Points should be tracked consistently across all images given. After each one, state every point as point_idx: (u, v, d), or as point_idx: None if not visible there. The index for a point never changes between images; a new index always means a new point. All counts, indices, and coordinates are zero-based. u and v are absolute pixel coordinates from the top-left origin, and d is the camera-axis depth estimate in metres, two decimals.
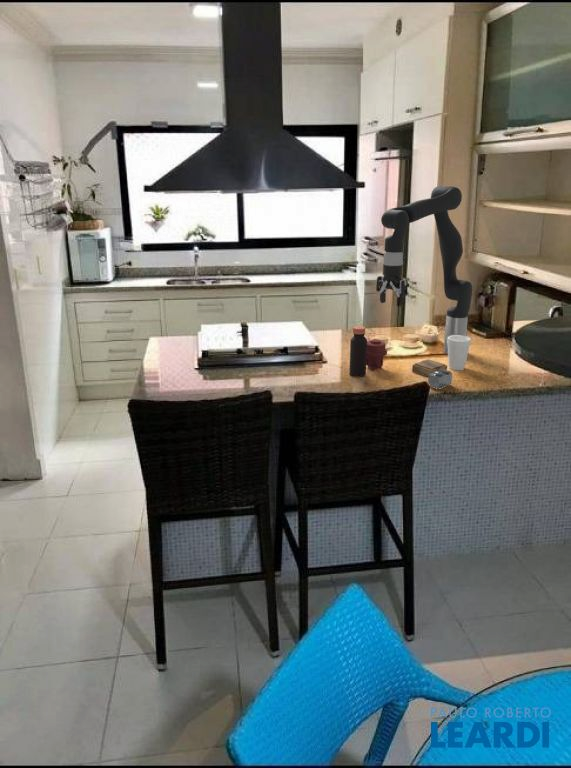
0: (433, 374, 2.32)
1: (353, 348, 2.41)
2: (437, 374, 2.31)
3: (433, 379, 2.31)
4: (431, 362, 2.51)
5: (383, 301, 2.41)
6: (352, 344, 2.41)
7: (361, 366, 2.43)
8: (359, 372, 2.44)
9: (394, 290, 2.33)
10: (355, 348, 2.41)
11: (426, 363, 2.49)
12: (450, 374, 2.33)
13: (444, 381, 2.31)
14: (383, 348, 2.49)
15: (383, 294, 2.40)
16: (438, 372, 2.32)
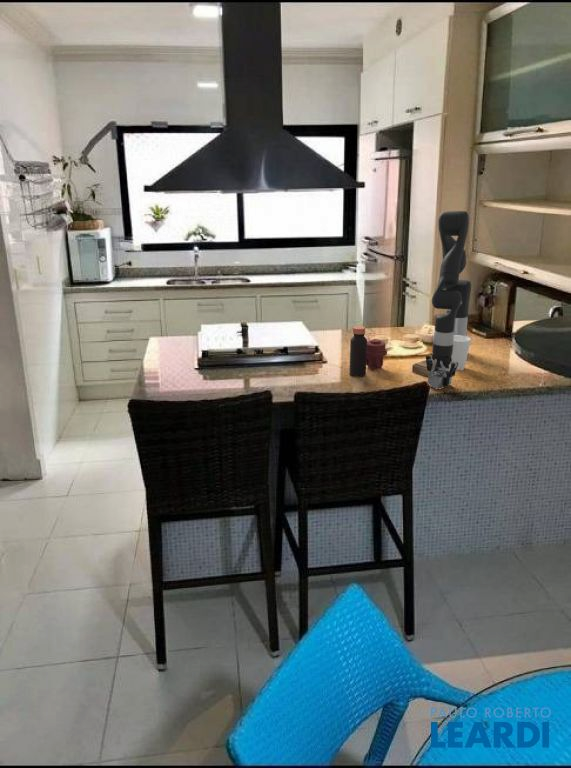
0: (433, 374, 2.32)
1: (353, 348, 2.41)
2: (437, 374, 2.31)
3: (433, 379, 2.31)
4: None
5: None
6: (352, 344, 2.41)
7: (361, 366, 2.43)
8: (359, 372, 2.44)
9: (442, 370, 2.29)
10: (355, 348, 2.41)
11: None
12: None
13: None
14: (383, 348, 2.49)
15: None
16: (438, 372, 2.31)
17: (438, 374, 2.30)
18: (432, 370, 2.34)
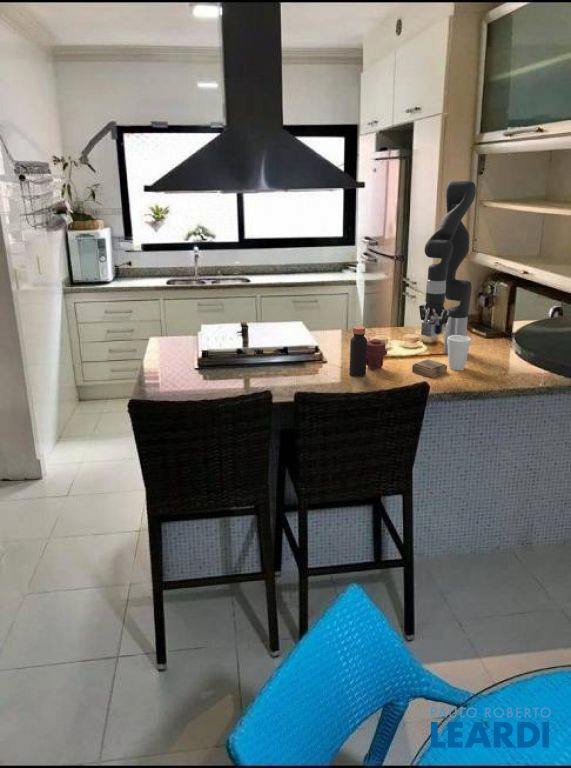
0: (426, 322, 2.42)
1: (353, 348, 2.41)
2: (430, 322, 2.40)
3: (426, 326, 2.41)
4: (431, 362, 2.51)
5: None
6: (352, 344, 2.41)
7: (361, 366, 2.43)
8: (359, 372, 2.44)
9: (435, 318, 2.39)
10: (355, 348, 2.41)
11: (426, 363, 2.49)
12: None
13: None
14: (383, 348, 2.49)
15: None
16: (431, 320, 2.41)
17: (431, 322, 2.40)
18: (425, 319, 2.44)
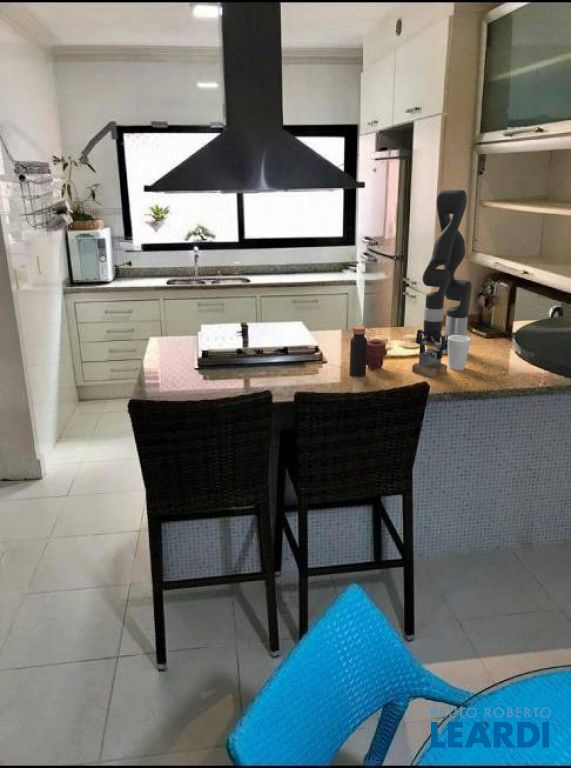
0: (423, 352, 2.46)
1: (353, 348, 2.41)
2: (427, 352, 2.45)
3: (424, 357, 2.45)
4: None
5: None
6: (352, 344, 2.41)
7: (361, 366, 2.43)
8: (359, 372, 2.44)
9: (434, 344, 2.42)
10: (355, 348, 2.41)
11: None
12: None
13: (434, 359, 2.45)
14: (383, 348, 2.49)
15: (423, 347, 2.49)
16: (428, 351, 2.46)
17: (428, 353, 2.45)
18: (420, 343, 2.48)
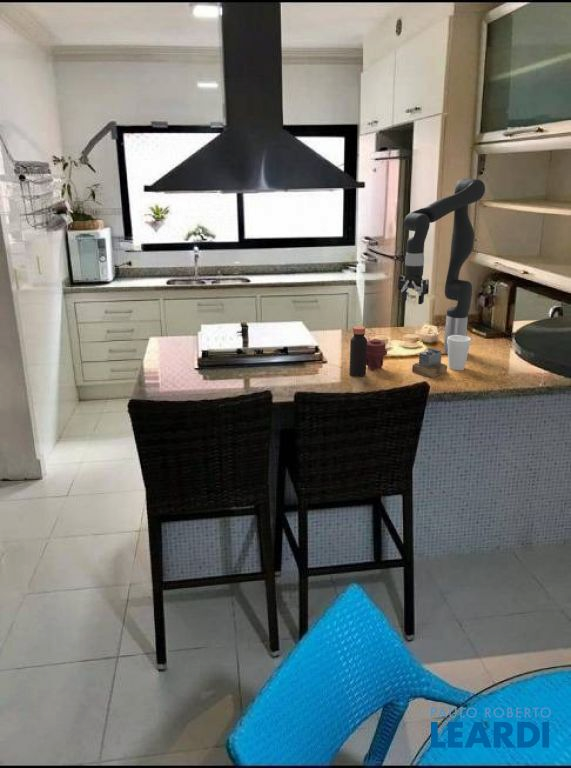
0: (423, 352, 2.46)
1: (353, 348, 2.41)
2: (427, 352, 2.45)
3: (424, 357, 2.45)
4: None
5: (404, 299, 2.55)
6: (352, 344, 2.41)
7: (361, 366, 2.43)
8: (359, 372, 2.44)
9: (416, 289, 2.47)
10: (355, 348, 2.41)
11: None
12: (440, 353, 2.47)
13: (434, 359, 2.45)
14: (383, 348, 2.49)
15: (404, 293, 2.54)
16: (428, 351, 2.46)
17: (428, 353, 2.45)
18: (402, 289, 2.53)
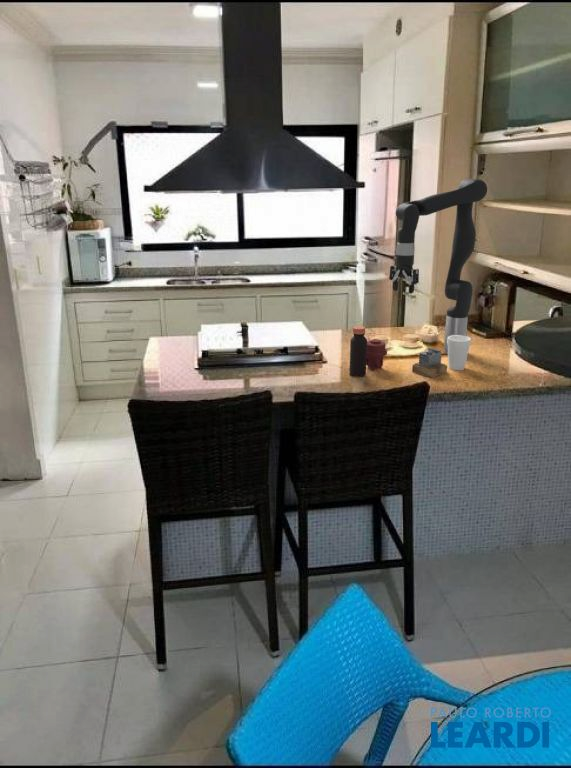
0: (423, 352, 2.46)
1: (353, 348, 2.41)
2: (427, 352, 2.45)
3: (424, 357, 2.45)
4: None
5: (396, 289, 2.59)
6: (352, 344, 2.41)
7: (361, 366, 2.43)
8: (359, 372, 2.44)
9: (406, 278, 2.51)
10: (355, 348, 2.41)
11: None
12: (440, 353, 2.47)
13: (434, 359, 2.45)
14: (383, 348, 2.49)
15: (396, 282, 2.58)
16: (428, 351, 2.46)
17: (428, 353, 2.45)
18: (393, 278, 2.57)
